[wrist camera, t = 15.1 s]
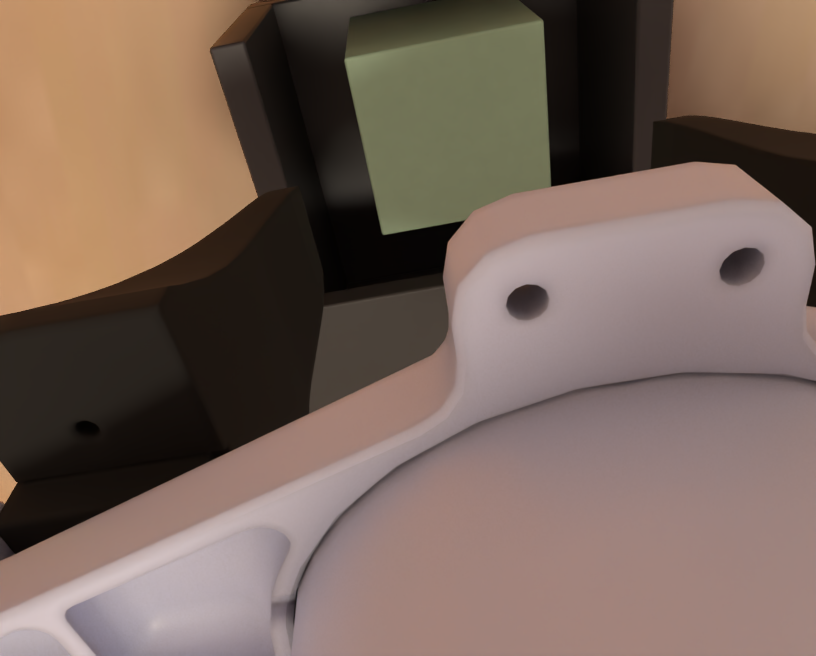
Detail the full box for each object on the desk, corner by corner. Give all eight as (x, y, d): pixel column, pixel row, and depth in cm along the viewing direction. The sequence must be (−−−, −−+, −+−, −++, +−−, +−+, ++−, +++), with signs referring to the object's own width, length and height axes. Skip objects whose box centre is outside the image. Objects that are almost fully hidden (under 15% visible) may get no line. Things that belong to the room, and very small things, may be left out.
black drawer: (124, -343, 15) (-5, -460, 10) (619, -460, 14) (762, -652, 9) (316, 292, 25) (303, 401, 19) (611, 240, 24) (677, 338, 19)
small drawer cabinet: (275, 196, 23) (240, 321, 17) (622, 132, 22) (725, 236, 16) (356, 454, 31) (353, 607, 24) (616, 412, 30) (684, 558, 24)
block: (504, -14, 18) (544, 18, 14) (515, 140, 20) (552, 205, 16) (349, 17, 18) (343, 58, 14) (379, 165, 21) (382, 236, 17)
